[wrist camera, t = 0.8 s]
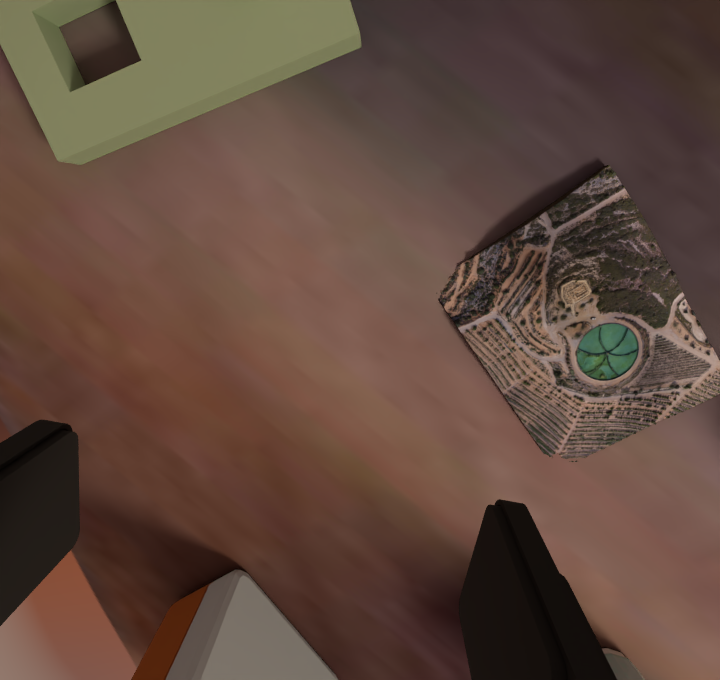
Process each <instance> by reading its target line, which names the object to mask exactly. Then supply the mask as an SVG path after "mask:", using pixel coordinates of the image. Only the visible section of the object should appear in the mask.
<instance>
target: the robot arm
mask: <svg viewBox="0 0 720 680" xmlns="http://www.w3.org/2000/svg"><path fill="white" fill-rule="evenodd" d="M79 531H80V521H79V457H78V435H77V434H76V433H75V432H73V431H72V428H71V426H70V425H68V424H65V423H59V422H53V421H48V420H39V421H36V422H34V423H33V424H31V425H29V426H28V427H26V428H24V429H23V430H21V431H19V432H18V433H16V434H14V435H13V436H11V437H9V438H8V439H6V440H5V441H3V442H1V443H0V626H1V625H2V624H3V622H5V620H6V619H7V618H8V617H9V616H10V615H11V614H12V613H13V612H14V611H15V610H16V609H17V607H18V606H19V605H20V604H21V603H22V602H23V601H24V600H25V599H26V598H27V597H28V596H29V594H30V593H31V592H32V591H33V590H34V589H35V588H36V587H37V586H38V585H39V584H40V583H41V581H42V580H43V579H44V578H45V577H46V576H47V575H48V574H49V573H50V572H51V571H52V570H53V568H54V567H55V566H56V565H57V564H58V563H59V562H60V561H61V560H62V559H63V558H64V556H65V555H66V554H67V553H68V552H69V551H70V550H71V549H72V548H73V546H74V545H75V543H76V541H77V539H78V536H79ZM459 616H460V622H461V627H462V632H463V637H464V642H465V648H466V653H467V658H468V663H469V668H470V673H471V679H472V680H617V678H616V676H615V674H614V672H613V670H612V668H611V666H610V664H609V662H608V660H607V658H606V656H605V654H604V652H603V650H602V648H601V646H600V644H599V642H598V640H597V638H596V637H595V635H594V633H593V631H592V629H591V627H590V625H589V623H588V621H587V619H586V617H585V615H584V613H583V611H582V609H581V607H580V605H579V603H578V601H577V599H576V597H575V595H574V593H573V591H572V589H571V587H570V585H569V583H568V582H567V580H566V579H565V577H564V576H563V575H561V574H560V573H559V571H558V569H557V567H556V565H555V563H554V561H553V559H552V557H551V555H550V553H549V551H548V549H547V547H546V545H545V543H544V541H543V539H542V537H541V535H540V533H539V531H538V529H537V527H536V525H535V523H534V521H533V519H532V517H531V515H530V513H529V511H528V509H527V507H526V505H525V504H522V503H517V502H511V501H505V500H497V501H496V503H495V505H488V506H487V508H486V511H485V514H484V517H483V521H482V524H481V528H480V531H479V534H478V538H477V541H476V545H475V548H474V551H473V555H472V558H471V562H470V565H469V568H468V572H467V575H466V579H465V582H464V585H463V589H462V592H461V596H460V601H459Z"/></svg>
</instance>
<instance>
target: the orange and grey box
mask: <svg viewBox="0 0 720 680" xmlns="http://www.w3.org/2000/svg"><path fill="white" fill-rule="evenodd" d="M131 680H338V679H337V677H336V675H335V674H334V673H333V672H332V670H331V669H330V668H329V667H328V666H327V665H326V664H325V662H324V661H323V660H322V659H321V658H320V657H319V655H318V654H317V653H316V652H315V651H314V650H313V648H312V647H311V646H310V645H309V644H308V643H307V642H306V640H305V639H304V638H303V637H302V636H301V635H300V633H299V632H298V631H297V630H296V629H295V628H294V627H293V625H292V624H291V623H290V622H289V621H288V620H287V618H286V617H285V616H284V615H283V614H282V613H281V611H280V610H279V609H278V608H277V607H276V606H275V605H274V603H273V602H272V601H271V600H270V599H269V598H268V596H267V595H266V594H265V593H264V592H263V591H262V589H261V588H260V587H259V586H258V585H257V584H256V583H255V581H254V580H253V579H252V578H251V577H250V576H249V574H248V573H246V572H244V571H242V570H234V571H232V572H230V573H228V574H226V575H224V576H223V577H221V578H219V579H217V580H215V581H213V582H211V583H210V584H208V585H206V586H204V587H202V588H200V589H199V590H197V591H195V592H193V593H191V594H189V595H187V596H186V597H184V598H182V599H180V600H178V601H177V602H176V603H174V604H173V605H172V606H171V607H170V609H169V610H168V612H167V614H166V616H165V618H164V619H163V621H162V623H161V625H160V627H159V629H158V630H157V632H156V634H155V636H154V638H153V640H152V642H151V643H150V645H149V647H148V649H147V651H146V653H145V655H144V657H143V658H142V660H141V662H140V664H139V666H138V668H137V670H136V672H135V673H134V675H133V677H132V679H131Z"/></svg>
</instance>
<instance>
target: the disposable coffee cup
mask: <svg viewBox="0 0 720 680" xmlns="http://www.w3.org/2000/svg"><path fill="white" fill-rule="evenodd" d="M602 650H603V652H604V654H605V656H606V658H607V660H608V662H609V664H610V666H611V668H612V670H613V672H614V674H615V676H616V678H617V680H645V679H644V678H643V676H642V675H641V674H640V672H639V671H638V670H637V668H636V667H635V666H634V665H633V664H632V663H631V661H630V660H629V659H628V658H625V656H624V655H623V654H622V653H621V652H618V651H614V650H611V649H608V648H602Z"/></svg>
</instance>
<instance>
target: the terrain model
mask: <svg viewBox="0 0 720 680" xmlns="http://www.w3.org/2000/svg"><path fill="white" fill-rule="evenodd" d="M448 281H449V283H448V284H447V285H445V289H444V290H443V291H440V292H441V295H440V298H439V301H440V303H441V304H442V306H443V307H444V308H445V310H446V311H447V313H448V314H449V316H450V317H451V319H452V320H453V322H454V323H455V324H456V326H457V327H458V329H459V330H460V332H461V333H462V335H463V336H464V338H465V339H466V341H467V342H468V344H469V345H470V347H471V348H472V349H473V351H474V352H475V354H476V355H477V357H478V358H479V360H480V361H481V363H482V364H483V366H484V367H485V368H486V370H487V371H488V373H489V374H490V376H491V377H492V379H493V380H494V382H495V383H496V384H497V386H498V387H499V389H500V390H501V392H502V393H503V395H504V396H505V398H506V399H507V400H508V402H509V404H510V405H511V407H512V408H513V409H514V411H515V412H516V414H517V415H518V417H519V418H520V420H521V421H522V423H523V424H524V426H525V427H526V428H527V430H528V431H529V433H530V434H531V436H532V437H533V439H534V440H535V442H536V443H537V444H538V446H539V448H540V449H541V450H542V452H543V453H544V454H547V455H549V457H552V454H556V453H559V455H561V456H562V457H561V458H565V459H567V458H585V457H588V456H589V455H590V454H593V453H596V452H597V451H599V450H602V449H605V448H606V447H607V446H610V445H612V444H614V443H615V442H618V441H621V440H622V439H623V438H627V437H628V436H630V435H632V434H636V432H637V431H641V430H643V429H644V428H646V427H650V426H651V425H652V424H656V422H657V421H661V420H664V419H665V418H670V416H673V415H676V414H677V413H679V412H684V410H688V409H690V408H692V407H694V406H697V405H698V404H701V403H703V402H705V401H707V400H709V399H711V398H713V397H715V396H717V395H718V394H720V360H719V358H718V357H717V355H716V353H715V351H714V349H713V347H712V345H711V344H710V343H709V341H708V339H707V338H706V336H705V335H704V332H703V330H702V329H701V325H700V323H699V321H698V320H696V318H695V316H694V315H695V313H694V311H692V310H691V309H690V306H689V305H688V303H687V301H686V298H685V296H684V294H683V292H682V289H681V287H680V285H679V283H678V280H677V278H676V274H675V273H674V272H673V271H672V269H671V266H670V265H669V263H668V262H667V260H666V258H665V257H664V255H663V253H662V251H661V249H660V247H659V245H658V243H657V242H656V239H655V237H654V236H653V234H652V232H651V231H650V228H649V227H648V225H647V223H646V221H645V219H644V218H643V216H642V214H641V213H640V211H639V210H638V208H637V207H636V205H635V203H634V202H633V200H632V199H631V197H630V196H629V194H628V192H627V191H626V189H625V187H624V186H623V185H622V183H621V182H620V181H619V179H618V178H617V176H616V173H615V172H614V171H613V170H612V169H611V167H610V165H607V166H605V167H603V168H601V169H600V170H599V171H597V172H596V173H594V174H593V175H592V176H590V177H589V178H588V179H586V180H584V181H583V182H582V183H580V184H579V185H578V186H576V187H575V188H573V189H572V190H570V191H569V192H568V193H566V194H565V195H563V196H562V197H561V198H559V199H558V200H556V201H555V202H553V203H552V204H551V205H549V206H547V207H546V208H545V209H543V210H542V211H540V212H539V213H538V214H536V215H534V216H533V217H531V218H530V219H528V220H527V221H525V223H522V224H521V225H520V226H518V227H517V228H515V229H514V230H512V231H511V232H509V233H507V234H506V235H505V236H503V237H501V238H500V239H499V240H497V241H496V242H494V243H492V244H491V245H489V246H488V247H486V248H484V249H483V250H482V251H480V252H478V253H477V254H476V255H475V256H473V257H471V258H469V259H468V260H466V261H465V262H463V263H462V264H460V265H459V266H457V267H456V269H455V272H454V273H453V276H452V277H450V278H449V279H448ZM569 462H570V461H569ZM571 462H574V461H571ZM575 462H577V461H575Z"/></svg>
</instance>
